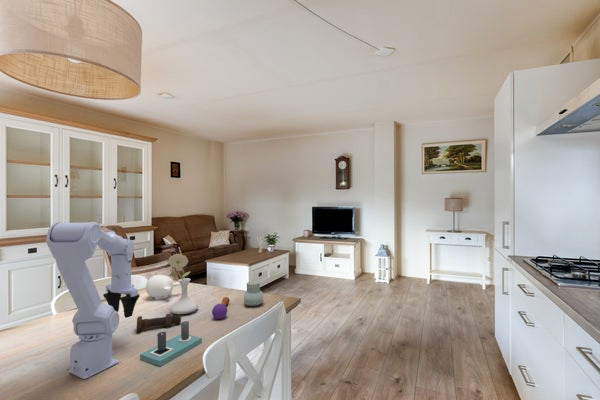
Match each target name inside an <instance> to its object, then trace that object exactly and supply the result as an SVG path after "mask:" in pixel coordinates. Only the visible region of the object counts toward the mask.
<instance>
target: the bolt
mask: <svg viewBox="0 0 600 400" xmlns="http://www.w3.org/2000/svg"><path fill="white" fill-rule="evenodd" d="M181 323H182V314H175V315H172V314H171V313H166V315H165V316H162V317H154V318H153V317H152V318H143V316H142V315H139V316H137V318H136V330H135V331H136V333H137V334H138V333H139V334H140V333H142V330H145V329H150V328H156V327H162V326H163V327H164V326H165V328H170V327H172V325H179V324H181Z"/></svg>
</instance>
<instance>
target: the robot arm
mask: <svg viewBox="0 0 600 400" xmlns="http://www.w3.org/2000/svg"><path fill="white" fill-rule="evenodd" d="M45 243H46V245H47V247H48V249H49V251H50V253H51V255H52V257H53V259H55V262H56V267H57V269H58V271H59V273H60V275H61V278H62V279H63V281H64V283H65V286H66V288H67V290H68V292H69V293H70V296H71V298H72V299H73V302H74V305H75V306H76V308H77V310H76V311H75V314H74V315H73V317H72V320H71V322H72V324H73V332H74V334H75V335H76V336H77V337H78V340H79V341H77V342H75V343H73V344H72V345H71V347H70V352H69V358H70V359H69V361H70V363H69V364H70V365H69V367H70V368H69V370H68V372H69V373H70V374H72V375H74V376H76V377H78V378H80V379H82V380H87V379H88V378H90V377H93V376H95V375H96V374H98V373H100V372H102V371H103V372H104V370H106V369H108V368H110V367H112V366H115V365H116V364H118V363H120V360H118V359H115V358H114V357H113V334H114V333H115V332H116V330H117V329H118V327H119V325H120V324H119V323H120V315H119V310H120V302H121V304H122V307H123V314H124V315H123V316H124V318H125V319H127V318H130V317H132V316H133V313H134V310H135V305H136V304H137V302H138V300H139V299H140V293H139V291H138V289H137V288H135V285H134V284H132V260H133V257H134V255H133V254H134V251H135V244H134V241H133V240H132V239H130V238H123V237H122V236H121V235H118V234H116V231H114V230H113V231H109V230H108V231H107V232H105V231H104V230H102V228H101V224H100V223H98V222H95V221H90V222H60V221H57V222H54V223H52V224H51V225H50V227H49V229H48V230H47V234H46V238H45ZM97 246H98V248H99V249H100V250H103V251H104V252H107V255H108V257H110V260H111V261H110V267H111V268H110V269H111V270H110V272H111V273H110V274H111V276H110V278H111V279H110V281H111V283H110V284H107V285H105V291H106V293H103V295H102V296H103V297H104V299H105V300H106V302H107V303H105V302H103V301H102V299H101V297H100V294H99V292H98V289H97V288H96V283H94V280H93V277H92V276H91V273H90V272H91V271H89V267H88V266H87V263H86V261H88V260H89V259H91V258H92V257H93V256H94V253H95V251H96V249H97ZM122 294H123V295H124V296H122Z"/></svg>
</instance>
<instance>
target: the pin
mask: <svg viewBox="0 0 600 400" xmlns="http://www.w3.org/2000/svg"><path fill="white" fill-rule="evenodd" d="M156 336H157V345H158V354H159V355H161V354H163V353H165V352H166V341H167V331H160V332H158V333H157V335H156Z"/></svg>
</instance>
